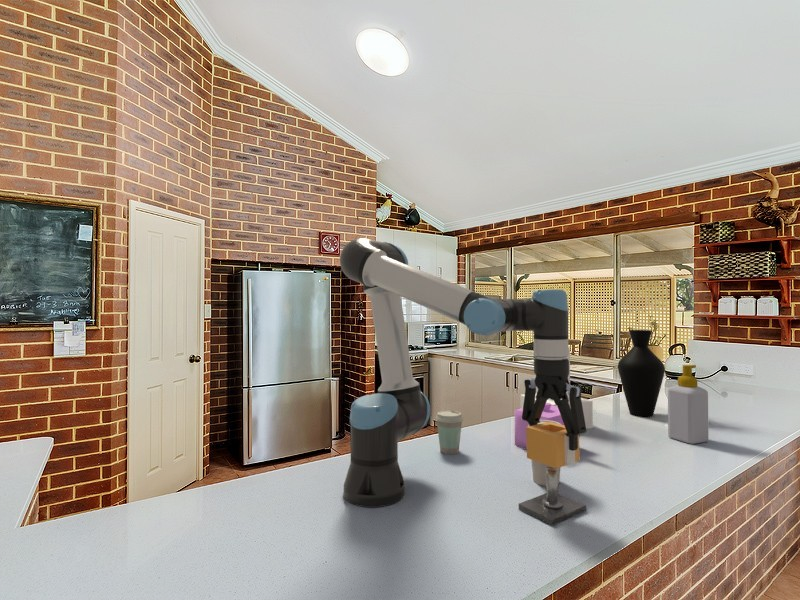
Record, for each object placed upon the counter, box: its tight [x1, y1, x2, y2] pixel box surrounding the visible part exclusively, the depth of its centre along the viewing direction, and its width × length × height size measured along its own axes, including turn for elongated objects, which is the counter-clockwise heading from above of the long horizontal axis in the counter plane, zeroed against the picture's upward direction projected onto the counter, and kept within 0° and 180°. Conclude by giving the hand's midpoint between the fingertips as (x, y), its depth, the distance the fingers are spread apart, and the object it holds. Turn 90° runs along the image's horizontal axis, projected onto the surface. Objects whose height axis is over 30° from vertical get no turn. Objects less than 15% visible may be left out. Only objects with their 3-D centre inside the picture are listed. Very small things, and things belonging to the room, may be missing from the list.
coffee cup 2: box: [528, 420, 561, 487], centre depth 114 cm, size 10×10×15 cm
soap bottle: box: [667, 364, 709, 445], centre depth 147 cm, size 9×9×25 cm
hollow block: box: [526, 422, 580, 469], centre depth 98 cm, size 8×8×7 cm
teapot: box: [514, 403, 565, 450], centre depth 141 cm, size 15×25×14 cm, turn 37°
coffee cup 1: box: [435, 409, 464, 455], centre depth 137 cm, size 9×8×12 cm
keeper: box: [518, 467, 587, 527], centre depth 98 cm, size 12×9×9 cm
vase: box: [617, 329, 666, 418], centre depth 180 cm, size 17×17×35 cm
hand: (552, 458), depth 98 cm, fingers closed on hollow block, 8 cm apart
